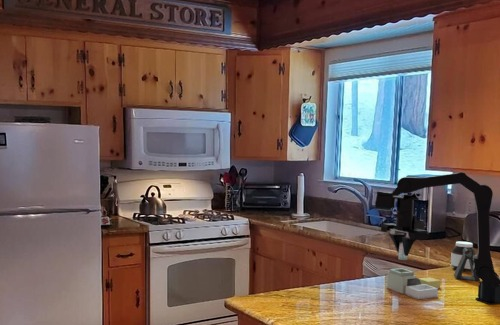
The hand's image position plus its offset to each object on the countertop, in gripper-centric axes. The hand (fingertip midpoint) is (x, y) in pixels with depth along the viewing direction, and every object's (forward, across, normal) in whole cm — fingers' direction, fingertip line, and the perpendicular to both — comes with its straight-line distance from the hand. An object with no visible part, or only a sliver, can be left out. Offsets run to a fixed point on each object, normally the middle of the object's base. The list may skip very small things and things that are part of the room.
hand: (403, 254), depth 182 cm
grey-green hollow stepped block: (+13, 0, -2) cm, 13 cm away
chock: (+13, 0, -14) cm, 19 cm away
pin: (+2, 0, 0) cm, 2 cm away
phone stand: (+13, +5, -38) cm, 41 cm away
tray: (+13, -8, -2) cm, 15 cm away
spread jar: (+13, +19, -52) cm, 57 cm away
